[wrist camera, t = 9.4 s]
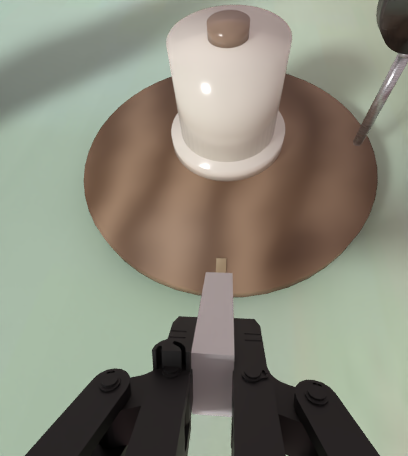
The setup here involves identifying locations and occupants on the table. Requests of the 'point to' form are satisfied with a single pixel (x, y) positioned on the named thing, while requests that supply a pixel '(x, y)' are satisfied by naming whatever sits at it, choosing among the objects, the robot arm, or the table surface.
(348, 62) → the table surface
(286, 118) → the turntable
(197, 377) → the robot arm
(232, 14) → the canister
